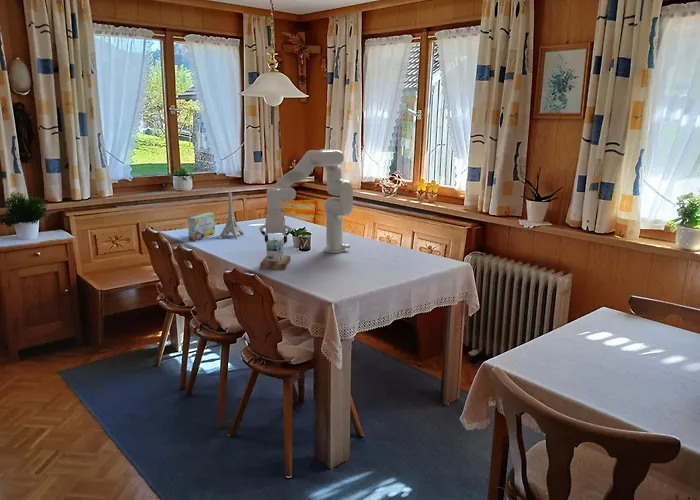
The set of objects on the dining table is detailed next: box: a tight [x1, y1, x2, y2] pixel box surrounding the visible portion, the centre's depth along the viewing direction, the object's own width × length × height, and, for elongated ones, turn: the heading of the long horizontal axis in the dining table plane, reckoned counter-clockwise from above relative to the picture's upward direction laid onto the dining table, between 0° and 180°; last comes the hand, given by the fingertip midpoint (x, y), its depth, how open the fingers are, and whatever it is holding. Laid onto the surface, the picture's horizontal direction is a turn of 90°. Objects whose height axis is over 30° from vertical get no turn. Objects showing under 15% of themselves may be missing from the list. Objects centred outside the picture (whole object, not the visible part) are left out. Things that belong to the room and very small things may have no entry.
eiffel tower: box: [218, 190, 245, 240], centre depth 359 cm, size 13×13×30 cm
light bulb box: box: [265, 237, 285, 262], centre depth 297 cm, size 11×7×11 cm, turn 171°
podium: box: [259, 254, 291, 270], centre depth 298 cm, size 13×17×3 cm
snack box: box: [187, 211, 216, 242], centre depth 356 cm, size 21×6×15 cm, turn 159°
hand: (276, 243), depth 296 cm, fingers open, 9 cm apart
